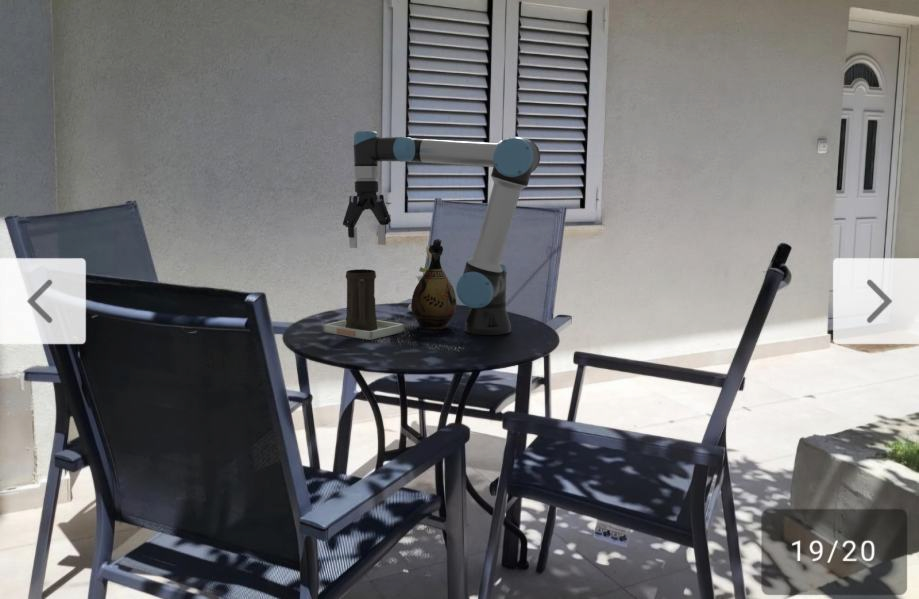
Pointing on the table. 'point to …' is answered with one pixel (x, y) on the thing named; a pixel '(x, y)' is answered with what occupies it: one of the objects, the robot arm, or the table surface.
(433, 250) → the ceramic jug
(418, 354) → the table surface
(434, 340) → the table surface
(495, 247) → the robot arm
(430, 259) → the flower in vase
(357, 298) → the beer stein
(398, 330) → the tray
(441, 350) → the table surface
